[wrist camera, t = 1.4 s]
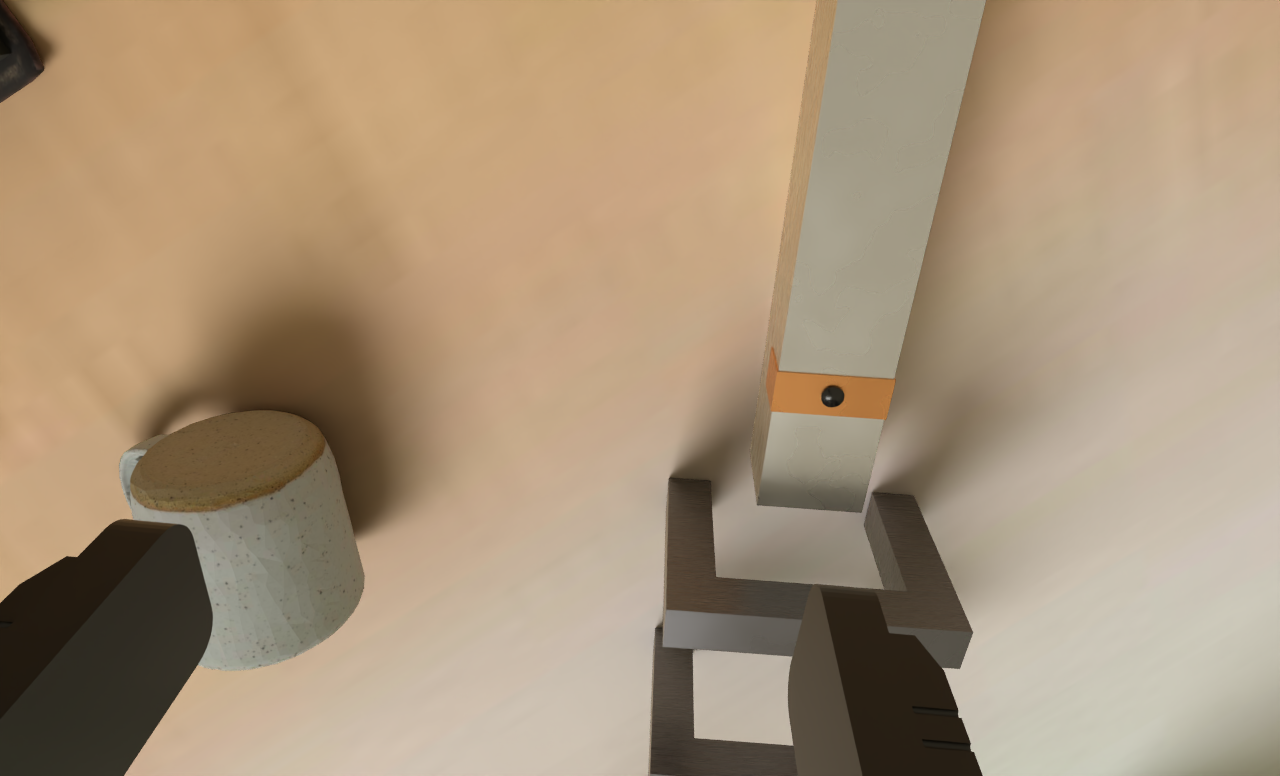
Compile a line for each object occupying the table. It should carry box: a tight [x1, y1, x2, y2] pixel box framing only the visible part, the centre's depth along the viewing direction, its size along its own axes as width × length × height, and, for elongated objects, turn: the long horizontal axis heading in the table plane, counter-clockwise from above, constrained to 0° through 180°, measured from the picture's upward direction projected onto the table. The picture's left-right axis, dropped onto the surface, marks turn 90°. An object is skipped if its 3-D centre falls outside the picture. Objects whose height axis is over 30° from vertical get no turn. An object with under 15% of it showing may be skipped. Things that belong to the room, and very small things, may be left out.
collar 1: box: [648, 628, 798, 776], centre depth 35 cm, size 2×11×8 cm, turn 87°
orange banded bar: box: [750, 0, 986, 513], centre depth 25 cm, size 26×4×4 cm, turn 177°
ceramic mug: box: [119, 410, 365, 671], centre depth 32 cm, size 11×8×8 cm
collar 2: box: [662, 478, 973, 669], centre depth 31 cm, size 2×11×8 cm, turn 87°
